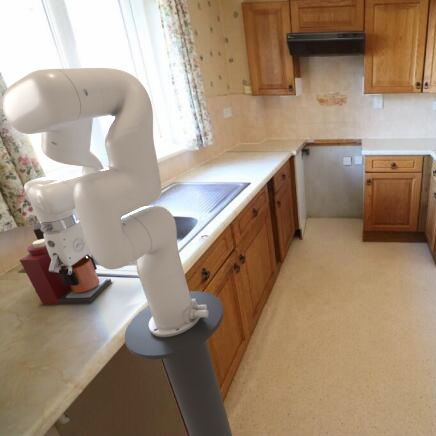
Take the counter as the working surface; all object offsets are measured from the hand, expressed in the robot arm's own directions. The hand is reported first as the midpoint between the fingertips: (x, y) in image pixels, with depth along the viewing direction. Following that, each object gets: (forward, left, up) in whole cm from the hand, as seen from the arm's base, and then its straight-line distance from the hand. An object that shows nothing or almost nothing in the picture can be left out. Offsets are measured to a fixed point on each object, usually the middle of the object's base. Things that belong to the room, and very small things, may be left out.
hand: (82, 276), depth 95 cm
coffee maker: (+1, 0, -6) cm, 6 cm away
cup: (0, 0, -3) cm, 3 cm away
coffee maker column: (+8, 0, -6) cm, 10 cm away
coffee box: (+19, -17, -6) cm, 27 cm away
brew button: (+8, 0, +11) cm, 13 cm away
